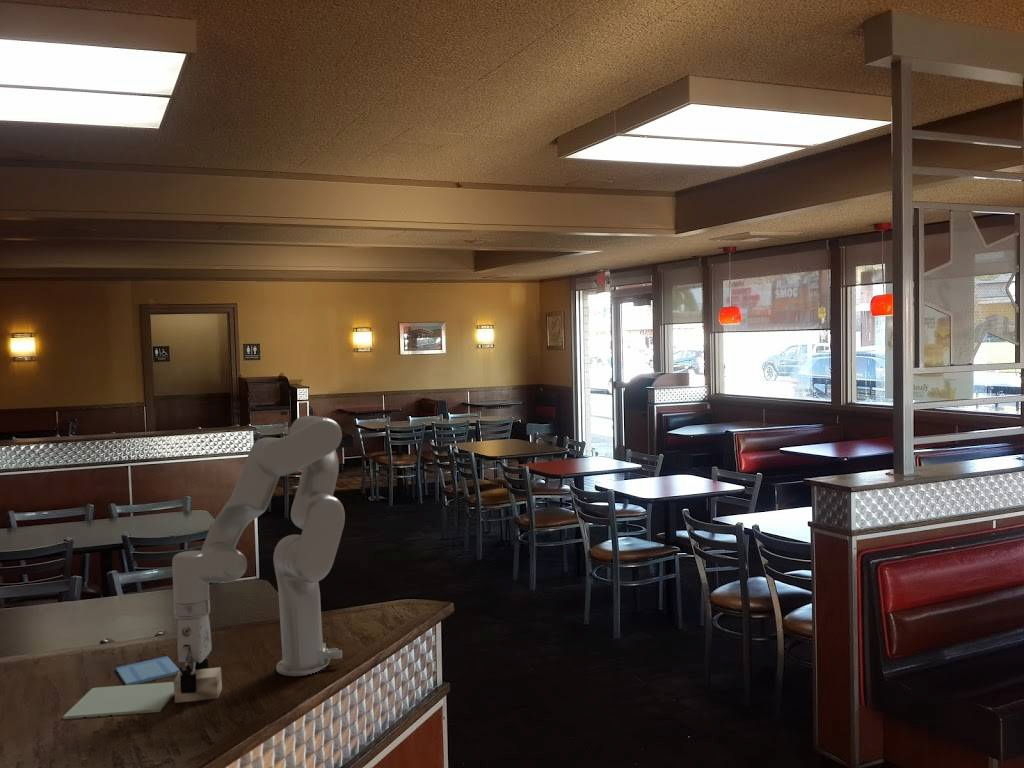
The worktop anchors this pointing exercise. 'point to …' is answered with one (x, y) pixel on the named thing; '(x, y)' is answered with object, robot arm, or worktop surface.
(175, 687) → the card box
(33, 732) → the worktop surface
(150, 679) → the waterproof phone case
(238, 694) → the worktop surface
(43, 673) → the worktop surface
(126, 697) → the card mat
